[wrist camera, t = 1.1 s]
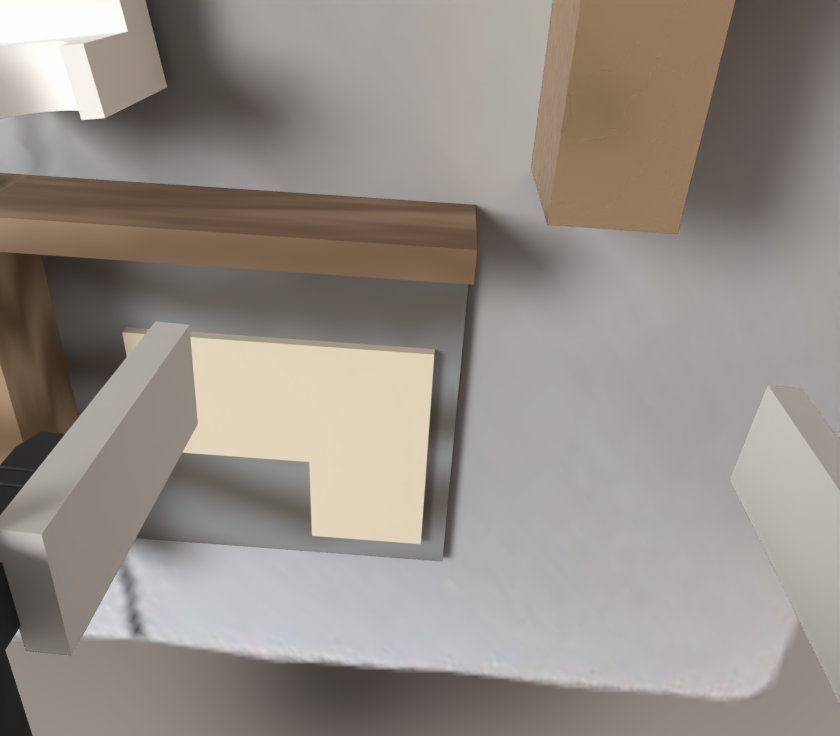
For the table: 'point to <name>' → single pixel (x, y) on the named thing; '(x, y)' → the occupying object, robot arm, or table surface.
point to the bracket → (76, 56)
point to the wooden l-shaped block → (625, 109)
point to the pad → (322, 422)
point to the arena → (226, 322)
